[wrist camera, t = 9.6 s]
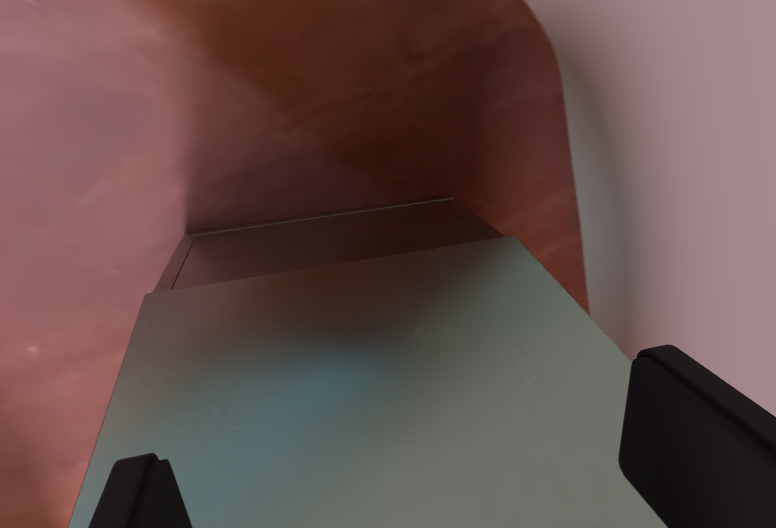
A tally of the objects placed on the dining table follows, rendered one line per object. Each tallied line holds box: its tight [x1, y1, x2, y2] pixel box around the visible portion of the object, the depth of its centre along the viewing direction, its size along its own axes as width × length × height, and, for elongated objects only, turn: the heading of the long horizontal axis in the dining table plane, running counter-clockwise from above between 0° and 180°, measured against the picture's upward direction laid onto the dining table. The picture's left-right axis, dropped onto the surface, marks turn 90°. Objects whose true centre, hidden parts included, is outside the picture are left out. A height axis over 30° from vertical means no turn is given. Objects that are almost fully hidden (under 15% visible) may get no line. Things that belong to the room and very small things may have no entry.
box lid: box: [68, 235, 668, 528], centre depth 13 cm, size 18×17×5 cm
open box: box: [153, 195, 506, 293], centre depth 30 cm, size 18×17×9 cm
